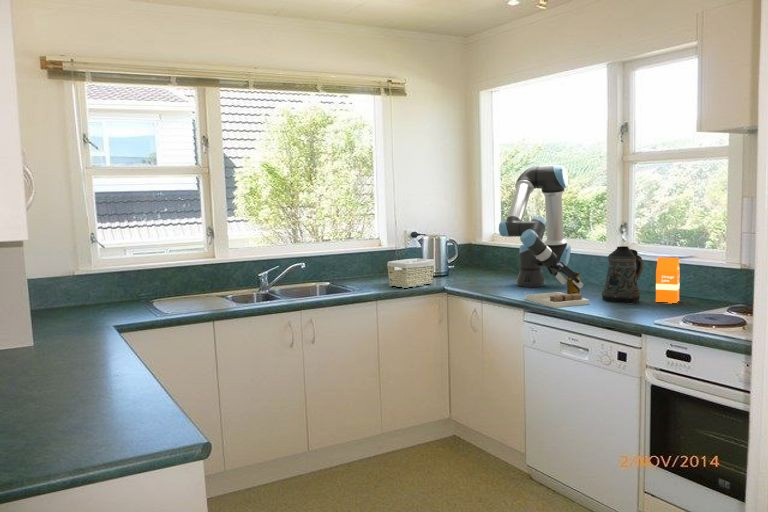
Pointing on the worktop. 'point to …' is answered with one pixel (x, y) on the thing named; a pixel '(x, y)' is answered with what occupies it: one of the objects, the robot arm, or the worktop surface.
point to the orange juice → (667, 280)
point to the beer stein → (623, 276)
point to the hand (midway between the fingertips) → (573, 284)
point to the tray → (545, 300)
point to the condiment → (572, 286)
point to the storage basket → (410, 272)
